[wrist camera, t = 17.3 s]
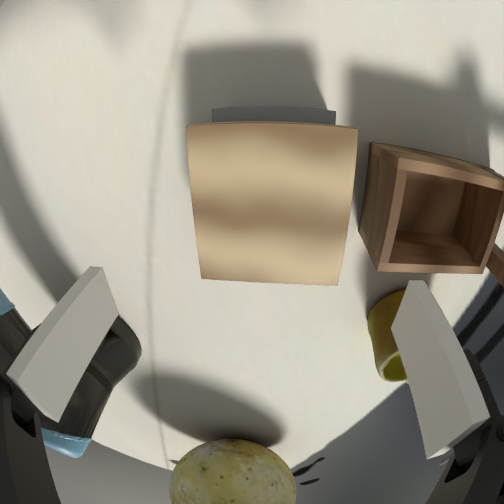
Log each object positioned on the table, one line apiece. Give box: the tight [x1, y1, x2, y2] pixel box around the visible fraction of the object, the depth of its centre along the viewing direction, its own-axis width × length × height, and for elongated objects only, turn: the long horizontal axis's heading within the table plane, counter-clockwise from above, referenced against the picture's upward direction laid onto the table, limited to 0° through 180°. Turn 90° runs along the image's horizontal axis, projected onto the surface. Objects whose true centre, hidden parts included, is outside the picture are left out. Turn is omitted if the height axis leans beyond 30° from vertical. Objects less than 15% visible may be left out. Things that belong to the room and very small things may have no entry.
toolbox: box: [358, 142, 504, 288], centre depth 18 cm, size 16×9×12 cm, turn 91°
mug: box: [368, 289, 409, 384], centre depth 28 cm, size 12×10×10 cm
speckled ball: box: [169, 439, 296, 504], centre depth 46 cm, size 30×30×30 cm
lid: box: [186, 121, 358, 286], centre depth 20 cm, size 12×11×3 cm
